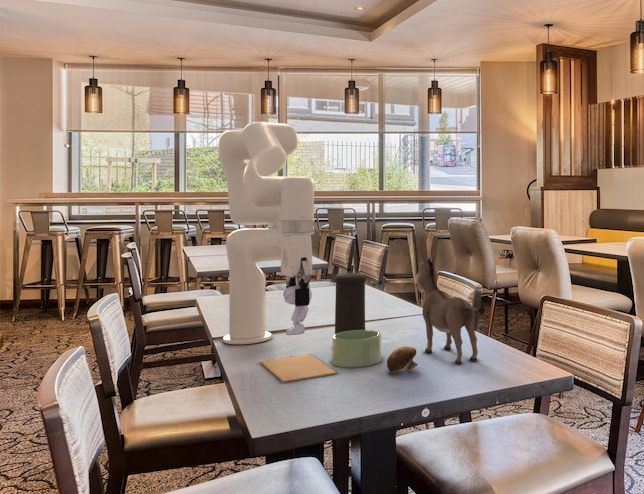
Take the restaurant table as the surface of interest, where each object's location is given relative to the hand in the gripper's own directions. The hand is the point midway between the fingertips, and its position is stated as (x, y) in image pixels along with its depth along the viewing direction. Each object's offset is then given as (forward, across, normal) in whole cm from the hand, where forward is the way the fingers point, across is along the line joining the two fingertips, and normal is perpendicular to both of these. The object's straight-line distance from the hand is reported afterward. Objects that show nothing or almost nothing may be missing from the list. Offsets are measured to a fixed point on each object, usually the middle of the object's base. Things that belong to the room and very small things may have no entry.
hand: (297, 302), depth 148 cm
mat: (+15, 0, 0) cm, 15 cm away
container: (+16, -13, +18) cm, 27 cm away
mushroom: (+16, +17, +19) cm, 30 cm away
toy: (+16, +10, +36) cm, 40 cm away
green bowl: (+15, +2, +14) cm, 21 cm away
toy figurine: (+7, 0, 0) cm, 7 cm away
